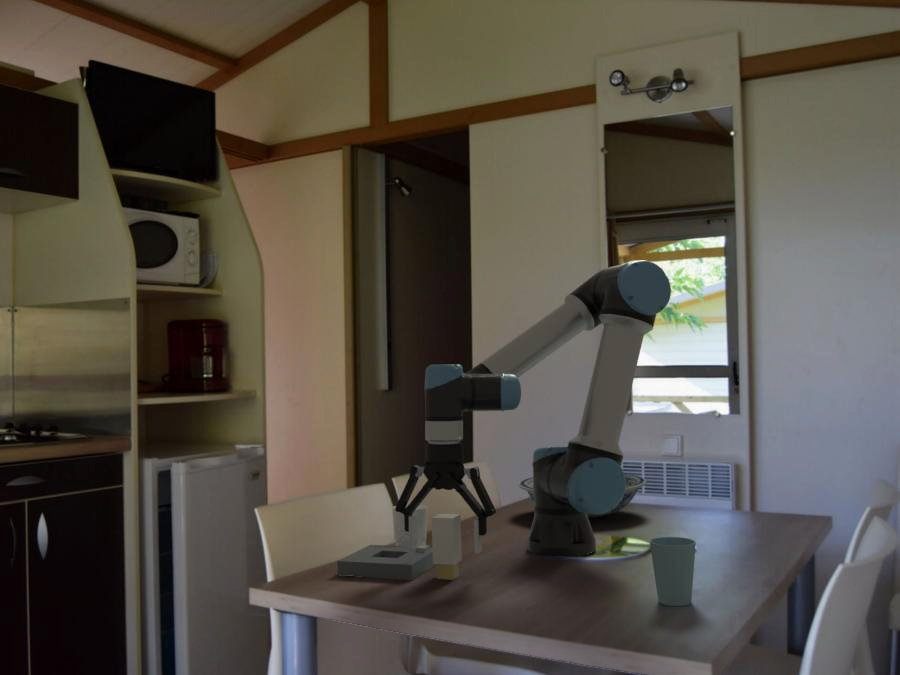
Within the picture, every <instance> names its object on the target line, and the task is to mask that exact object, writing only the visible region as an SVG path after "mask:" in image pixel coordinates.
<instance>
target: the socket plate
mask: <svg viewBox="0 0 900 675" xmlns="http://www.w3.org/2000/svg"><path fill="white" fill-rule="evenodd" d="M336 564H337V575H338V574H340V575H353V576H362V577H371V578H370V579H379V578H382V579H383V580H384V579H385V580H399V581H400V580H402V581H413V580H415V579H416V578H418V577H419V576H421V575H423V574H424V573H425V572H427V571H428V570H430V569H431V568H433V567H434V566H436V564H433V554H432V547H431V546H430V544H429V545H428V544H426V545H420V546H418V547H416V548H414V549H413V550H411V549H409V547H406V546H395V545H381V544H380V545H379V544H369V545H367V546H365V547H362V548H361V549H359V550H357V551H355V552H353V553H351V554H349V555H347V556H344V557H343V558H340V559H339V560H337V562H336ZM362 577H361V578H362ZM382 579H381V580H382Z"/></svg>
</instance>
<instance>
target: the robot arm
mask: <svg viewBox="0 0 900 675" xmlns="http://www.w3.org/2000/svg"><path fill="white" fill-rule="evenodd" d="M671 287H672V286H671V281H670V279H669V278H668V276H667V275H666V273H665V271H664V269H662V268H661V267H660V266H659V265H658V264H656V263H655V262H652V261H650V260H630V261H627V262H626V263H623V264H618V265H613V266H609V267H605V268H603V269H602V270H599V271H598V272H596V273H595V274H594V275H593V276H591V277H589V279H587V280H586V281H585V282H583V283H582V284H581V285H580V286H578V287H577V288H575V289H574V290H573V291H571V292H570V293H569V294H567V295H566V296H565V297H564V302H563V303H562V304H561V305H559V306H558V307H557V308H556V309H554V310H553V311H551V312H550V313H548V314H547V315H545V316H544V317H542V318H541V319H540V320H538V321H537V322H536V323H534V324H533V325H532V326H530V327H528V329H526V330H525V331H523V332H522V333H520V334H519V335H517V336H516V337H515V338H513V339H511V341H509V342H508V343H507V344H505V345H504V346H502V347H500V348H499V349H498V350H496V351H495V352H493V353H492V354H491V355H489V356H488V357H487V358H485V359H484V360H482V361H481V362H479V364H477V365H476V366H474V367H473V368H471V369H470V370H469V371H467V372H464V370H463V366H462V365H461V364H459V363H458V364H456V363H455V364H453V363H452V364H449V363H447V364H430V365H428V366H427V367H426V369H425V373H424V387H423V389H424V408H425V409H424V410H425V412H424V413H425V418H424V420H425V422H424V423H425V424H424V428H425V429H424V434H425V435H424V436H425V437H424V438H425V439H424V440H426V442H427V443H426V444H425V446H424V447H425V449H424V450H425V451H424V454H425V456H424V457H425V458H424V459H425V466H420V465H419V464H415V465H412V466H411V467H410V468H409V477H408V480H407V482H406V484H405V485H404V488H403V490H402V493H401V494H400V497H399V499H398V501H397V504H396V505H395V506H396V507H395V510H396V512H400V513H402V514H404V525H405V531H407V532H409V549H411V550H413V549H414V548H416V547H417V514H413V513H414V511H415V510H416V508H417V507H418V506H419V505H421V504H422V502H423V501H424V499H425V498H427V496H428V495H429V494H430V492H431V491H432V490H433V489H435V490H446V491H452V490H455V492H456V493H458V494H459V495H460V496H461V498H462V499H463V500H464V502H465V503H466V504H467V505H468V507H469V508H470V509H471V511H472V512H473V514H475V516H476V518H474V520H473V539H474V541H473V543H474V545H473V546H474V549H473V550H474V552H473V553H474V554H479V553H481V552H482V551H483V536H485V535H486V534H487V530H488V529H487V528H488V527H487V519H488V518H489V517H491V516H493V515H495V514H496V512H497V510H496V508H495V506H494V504H493V502H492V500H491V497H490V495H489V493H488V491H487V488H486V486H485V485H484V482H483V480H482V479H481V474H480V468H479V467H478V466H474V467H469V468H467V467H466V468H465V465H464V444H463V443H462V442H461V441H463V439H464V412H495V411H496V412H499V411H501V412H504V411H513V410H514V411H515V410H516V409H517V408H518V407H519V405H520V403H521V398H522V386H521V382H520V380H519V378H520V377H521V376H522V375H524V374H526V373H527V372H528V371H530V370H531V369H533V368H534V367H535V366H537V364H539V363H540V362H542V361H544V360H545V359H546V358H547V357H549V356H550V355H551V354H553V353H554V352H556V351H557V350H559V349H560V348H561V347H562V346H564V345H565V344H566V343H568V342H570V341H571V340H572V339H574V338H575V337H576V336H578V335H579V334H581V333H582V332H583V331H588V332H591V331H593V330H594V329H595V328H596V327H599V326H600V325H603V329H602V333H601V337H600V341H599V346H598V349H597V353H596V358H595V363H594V367H593V371H592V374H591V375H592V376H591V379H590V384H589V388H588V393H587V395H586V400H585V405H584V408H583V412H582V418H581V422H580V425H579V428H578V429H579V430H578V434H577V435H576V436H574V437H572V438H571V439H569V440H568V444H567V445H560V446H546V447H539V448H537V449H535V450H534V451H533V456H532V457H533V458H532V471H533V472H532V474H533V475H532V477H533V479H534V501H533V502H534V516H533V520H532V524H531V526H530V527H531V528H530V530H529V535H528V538H527V550H528V552H529V553H532V554H533V555H534V554H535V555H538V556H544V557H557V558H562V557H564V558H567V557H571V558H572V557H579V556H578V555H582V556H584V555H583V554H587V553H590V552H593V553H595V552H596V551H597V540H596V537H595V533H594V531H593V528H592V525H591V522H590V519H589V517H588V516H587V514H603V513H606V512H608V511H610V510H612V509H613V508H615V507H616V506H617V505H618V504H619V503H620V501H621V500H622V498H623V496H624V494H625V490H626V476H625V475H624V474H625V473H624V470H623V468H622V464H623V459H624V453H623V451H622V450H621V448H620V446H619V443H620V438H621V435H622V430H623V426H624V422H625V417H626V414H627V409H628V404H629V400H630V396H631V391H632V387H633V383H634V379H635V374H636V370H637V365H638V362H639V358H640V353H641V349H642V345H643V340H644V337H645V335H646V334H648V333H650V332H651V331H653V329H654V326H655V322H656V318H657V314H659V313H661V312H662V311H663V310H665V309H666V307H667V306H668V304H669V302H670V299H671V295H672V289H671ZM422 475H424V477H425V478H426V482H425V483H424V485H423V486H422V488H421V489H420V490H419V491H418V493H417V494H416V495H415V496H414V497H413V499H412V500H411V501H410V503H409V505H408V506H407V507H406V505H407V504H408V502H409V500H410V498H411V496H412V494H413V492H414V490H415V488H416V485H417V484H418V481H419V478H420V477H422ZM465 476H467V478H468V479H469V480H470V482H471V484H472V487H473V488H474V490H475V493H476V494H477V496H478V499H479V500H480V501H478V500H477V499H476V497H475V496H474V494H472V492H471V490H469V488H468V487H467V485H466V483H465V482H464V481H463V478H464V477H465ZM480 502H481V503H480ZM481 504H482V505H481ZM595 550H596V551H595ZM594 551H595V552H594ZM587 555H588V554H587Z"/></svg>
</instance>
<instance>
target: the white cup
mask: <svg viewBox="0 0 900 675" xmlns="http://www.w3.org/2000/svg"><path fill="white" fill-rule="evenodd" d="M409 504H410V503H409ZM409 504H408V503H407V505H406V507H407V506H408V505H409ZM395 507H396V505H394V506H392V522H393V524H392V525H393V533H394V534H393V535H394V536H393V538H394V541H395V543H394V546H406V547H409V532H407V531H405V525H404V514H402V513H400V512H396V510H395ZM413 514H417V547H418V546H420V545H427V529H428V506H427V505H425V504H420V505H419V506H418V507H417V508H416V510H415V511H414V513H413Z"/></svg>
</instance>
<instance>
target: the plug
mask: <svg viewBox="0 0 900 675" xmlns="http://www.w3.org/2000/svg"><path fill="white" fill-rule="evenodd" d="M461 517H462V516H461V513H460V514H457V513H438V514H435V515H434V516H432V517H431V543H432V544H431V545H432V546H431V548H432V554H433V564H436V565H435V566H436V579H437V580H452V581H453V580H455V579H456V578H457V577H459V575H460V573H459V562H461V561H463V558H462V552H463V551H462V522H461Z"/></svg>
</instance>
